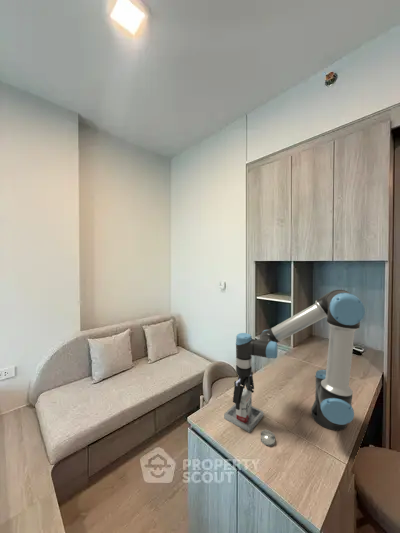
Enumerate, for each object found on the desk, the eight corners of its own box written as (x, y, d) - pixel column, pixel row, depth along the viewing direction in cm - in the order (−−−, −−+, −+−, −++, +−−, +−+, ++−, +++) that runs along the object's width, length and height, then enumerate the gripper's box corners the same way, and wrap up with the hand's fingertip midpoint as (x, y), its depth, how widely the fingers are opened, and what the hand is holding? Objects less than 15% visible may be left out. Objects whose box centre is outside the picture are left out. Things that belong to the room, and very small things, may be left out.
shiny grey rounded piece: (276, 438, 98) (276, 433, 98) (273, 449, 93) (273, 443, 93) (263, 433, 101) (263, 427, 101) (258, 442, 96) (258, 437, 96)
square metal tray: (263, 416, 112) (263, 411, 112) (249, 432, 101) (249, 427, 101) (239, 404, 121) (239, 399, 121) (224, 418, 111) (224, 413, 111)
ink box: (245, 423, 106) (245, 399, 106) (236, 419, 109) (235, 396, 109) (251, 413, 114) (251, 390, 113) (242, 409, 116) (242, 387, 116)
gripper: (248, 355, 121) (248, 395, 122) (224, 371, 104) (225, 418, 105) (261, 359, 116) (261, 401, 117) (238, 377, 99) (238, 425, 100)
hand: (244, 409), depth 111 cm, fingers open, 9 cm apart
